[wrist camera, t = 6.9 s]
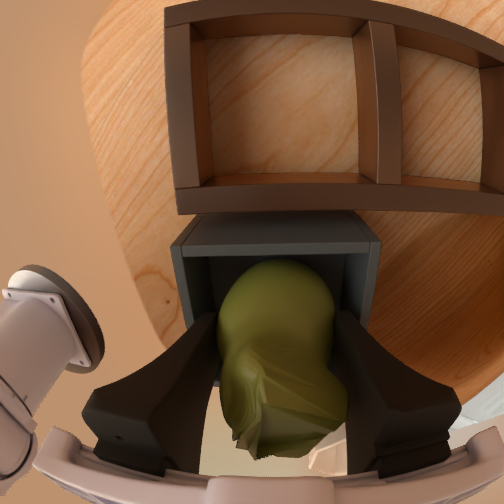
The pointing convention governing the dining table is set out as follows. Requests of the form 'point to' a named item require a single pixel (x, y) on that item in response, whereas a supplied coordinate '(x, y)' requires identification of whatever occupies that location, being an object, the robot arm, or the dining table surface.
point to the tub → (276, 246)
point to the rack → (368, 98)
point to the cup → (330, 454)
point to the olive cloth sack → (279, 360)
